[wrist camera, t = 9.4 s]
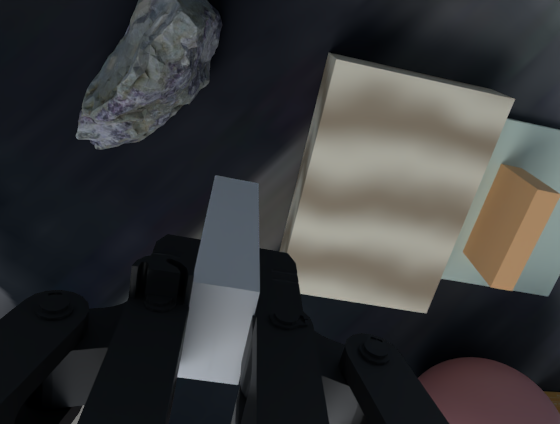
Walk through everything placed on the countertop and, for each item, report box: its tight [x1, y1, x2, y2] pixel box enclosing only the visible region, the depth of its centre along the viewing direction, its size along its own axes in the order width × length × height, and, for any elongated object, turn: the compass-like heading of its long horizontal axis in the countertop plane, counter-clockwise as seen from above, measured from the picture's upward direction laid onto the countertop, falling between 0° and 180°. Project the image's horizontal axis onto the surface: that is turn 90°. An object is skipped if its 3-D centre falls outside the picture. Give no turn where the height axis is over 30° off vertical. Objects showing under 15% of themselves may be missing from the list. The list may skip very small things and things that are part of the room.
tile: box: [463, 164, 560, 291], centre depth 41 cm, size 9×6×2 cm
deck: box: [280, 53, 515, 313], centre depth 41 cm, size 20×14×4 cm
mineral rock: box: [76, 0, 222, 150], centre depth 33 cm, size 13×11×10 cm
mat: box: [441, 118, 560, 296], centre depth 45 cm, size 16×13×1 cm
